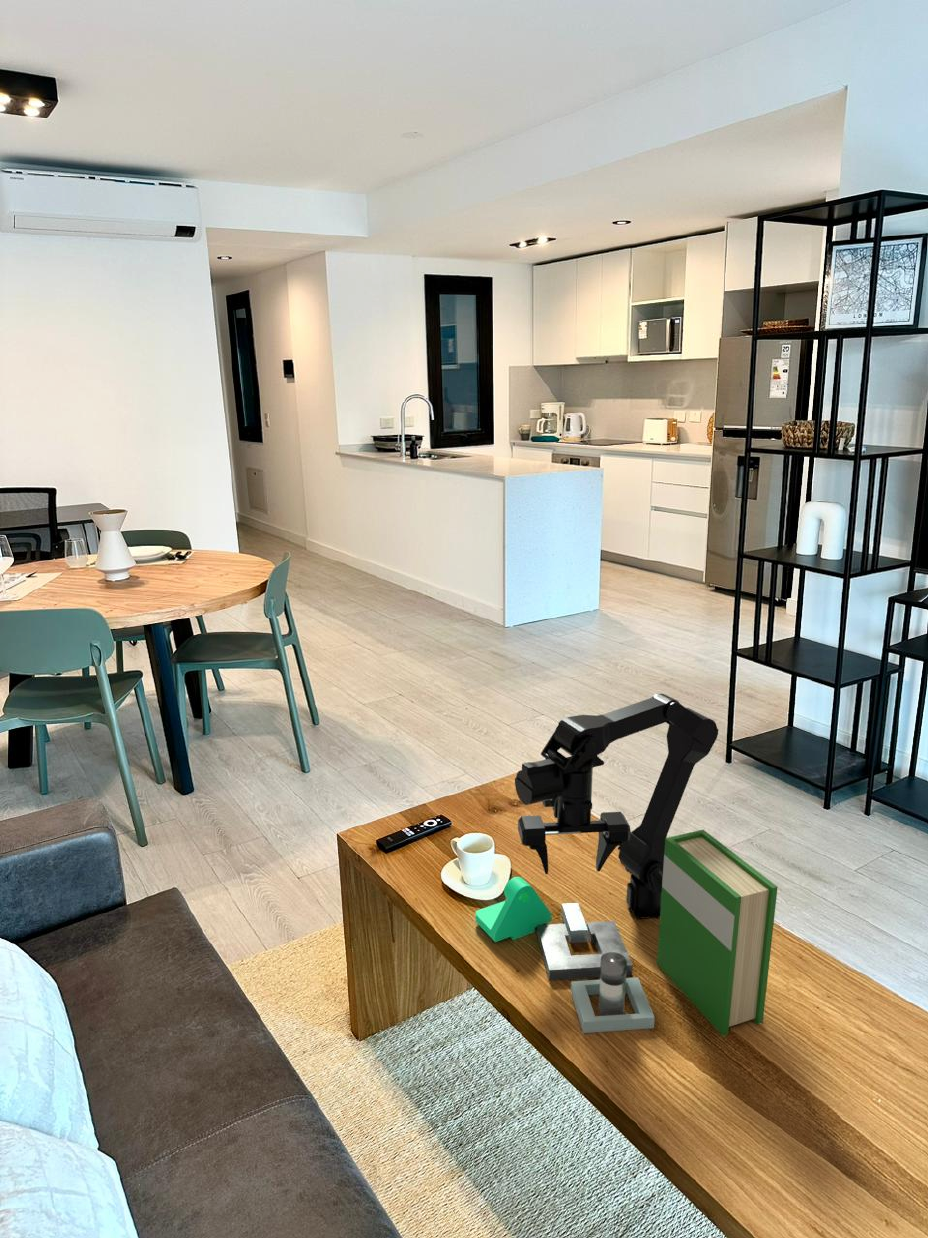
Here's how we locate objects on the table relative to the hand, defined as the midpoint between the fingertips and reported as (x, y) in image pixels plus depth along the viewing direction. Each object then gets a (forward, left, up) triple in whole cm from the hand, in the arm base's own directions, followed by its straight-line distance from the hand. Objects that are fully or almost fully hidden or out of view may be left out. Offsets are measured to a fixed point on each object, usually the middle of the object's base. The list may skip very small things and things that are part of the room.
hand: (572, 871), depth 148 cm
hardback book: (-19, +17, -13) cm, 28 cm away
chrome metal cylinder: (-3, +19, -12) cm, 23 cm away
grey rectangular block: (-1, -1, -12) cm, 13 cm away
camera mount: (+10, -3, -13) cm, 17 cm away
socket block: (-1, +6, -12) cm, 14 cm away
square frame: (-3, +19, -12) cm, 23 cm away
